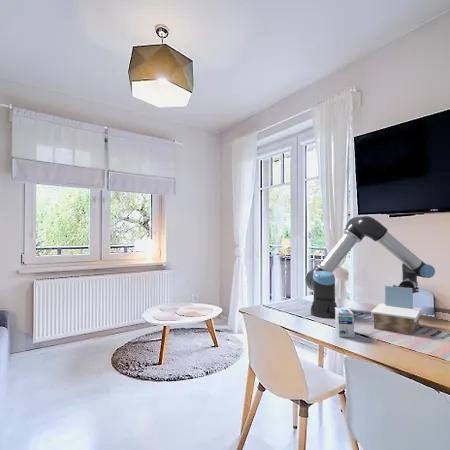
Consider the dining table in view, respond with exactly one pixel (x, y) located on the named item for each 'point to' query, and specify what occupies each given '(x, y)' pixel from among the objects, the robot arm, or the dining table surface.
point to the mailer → (395, 324)
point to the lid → (398, 304)
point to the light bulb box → (344, 322)
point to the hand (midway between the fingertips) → (400, 293)
